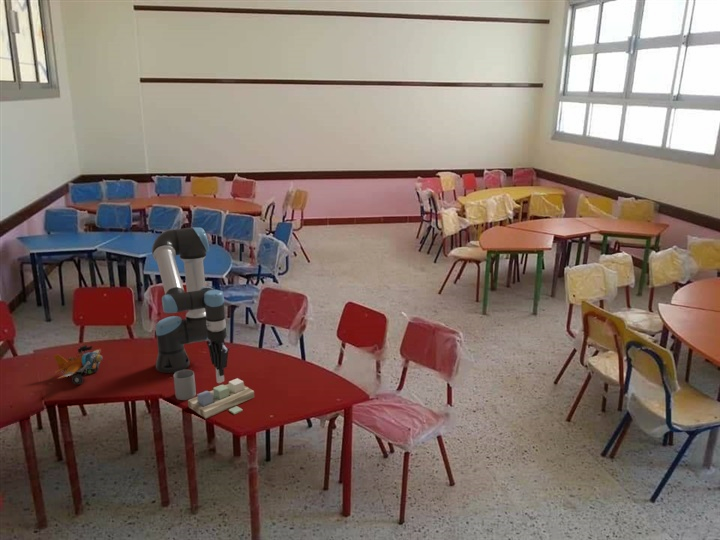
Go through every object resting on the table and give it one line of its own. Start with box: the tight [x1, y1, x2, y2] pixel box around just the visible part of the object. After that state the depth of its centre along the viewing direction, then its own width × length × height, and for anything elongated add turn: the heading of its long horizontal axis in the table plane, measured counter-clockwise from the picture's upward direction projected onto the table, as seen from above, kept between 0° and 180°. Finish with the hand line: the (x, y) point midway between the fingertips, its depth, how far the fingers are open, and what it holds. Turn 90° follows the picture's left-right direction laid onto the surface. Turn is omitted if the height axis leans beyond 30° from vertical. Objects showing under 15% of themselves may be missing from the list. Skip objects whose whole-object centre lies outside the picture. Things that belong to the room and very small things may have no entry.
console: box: [187, 383, 255, 420], centre depth 242 cm, size 13×24×3 cm, turn 136°
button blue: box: [196, 390, 214, 407], centre depth 236 cm, size 4×4×4 cm
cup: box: [173, 369, 197, 401], centre depth 246 cm, size 8×8×10 cm
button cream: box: [228, 377, 245, 394], centre depth 246 cm, size 4×4×4 cm
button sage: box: [212, 383, 229, 400], centre depth 241 cm, size 4×4×4 cm
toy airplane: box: [53, 344, 104, 385], centre depth 260 cm, size 29×23×15 cm
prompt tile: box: [228, 405, 243, 415], centre depth 235 cm, size 4×4×1 cm
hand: (220, 381), depth 239 cm, fingers closed
